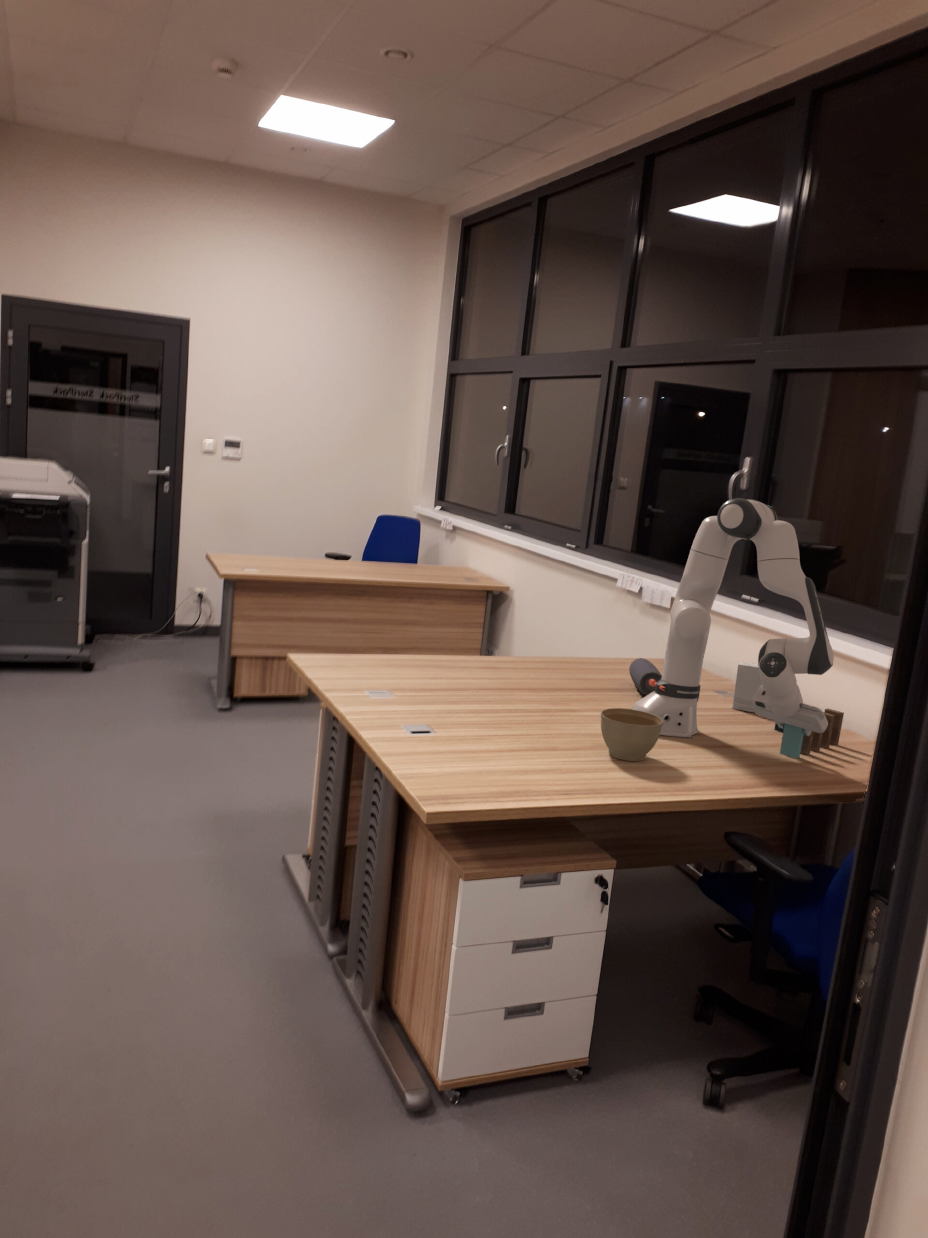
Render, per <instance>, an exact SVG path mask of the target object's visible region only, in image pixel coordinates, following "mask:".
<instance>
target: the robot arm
mask: <svg viewBox="0 0 928 1238" xmlns="http://www.w3.org/2000/svg"><path fill="white" fill-rule="evenodd" d="M796 533H797V532H796V529H795V527H794V525H792V523H790V522H788V521H784V520H779V518H778V515H777V513H776V511H775V509H773V508H772V507H771V506H770V505H768V504H767V503H765V502H764V503H763V502H761V501H758V500H756V499H747V498H746V499H745V498H741V497H738V498H737V497H736V498H732V499H729V500H727V501H725V502H723V504H722V505H721V506H720V508H719V510H718V512H717V515H711V516H708V517H706V518H704V519H703V520H702V521H701V524H700V525H699V528H698V530H697V532H696V533H695V537H694V539H693V542H692V545H691V548H690V550H689V554H688V558H687V561H686V564H685V567H684V569H683V574H682V577H681V579H680V581H679V585H678V588H677V591H676V594H675V597H674V600H673V603H672V606H671V609H670V612H669V613H670V614H669V616H670V617H669V618H670V625H669V632H668V637H667V643H666V649H665V653H664V654H665V655H664V659H663V660H664V661H663V667H662V673H661V675H662V678H661V679H660V680H659V681H658V682H657V681H655V680H654V679H650V682H649V685H651V686H652V687H655V689H654V690H655V691H653V692H652V693H650V694H649V695H644V696H643V697H642V698H640V699H638V701H636V702H634V704H633V706H632V708H631V709H633V710H639V711H644V712H647V713H651V714H654V715H656V716H658V717H660V718H661V719H662V720H663V725H662V727H661V732H660V735H659V736H668V737H669V736H670V737H680V738H692V737H693V735H695V734H697V733H698V732H699V731H698V722H697V718H698V717H697V714H698V713H697V710H698V709H697V708H698V701H699V699H700V692H701V684H700V682H701V677H702V676H701V675H702V669H703V663H704V658H705V653H706V649H707V645H708V639H709V636H710V631H711V630H710V629H711V624H712V623H711V622H712V619H711V618H712V617H711V611H712V607H713V605H714V602H715V600H716V597H717V594H718V592H719V590H720V587H721V585H722V581H723V578H724V576H725V572H726V568H727V565H728V562H729V559H730V556H731V552H732V550H733V547H734V544H736V543H737V542H738V541H743V542H748V541H750V542H751V541H752V542H753V543H754V545H755V547H756V556H757V559H756V561H757V574H758V578H759V581H760V583H761V585H762V586H763V587H764V588H766V589H767V591H768V590H769V591H771V592H772V593H775V594H777V595H780V596H784V597H788V598H791V599H793V600H795V601H797V602H799V603H800V605H801V606H802V609H803V610H804V614H805V619H806V623H807V628H808V631H809V632H808V633H809V636H807V637H798V638H797V637H793V638H789V637H788V638H786V637H785V638H784V637H783V638H770V639H769V640H767V641H766V642H764V643H763V645H762V646H761V647H760V649H759V652H758V659H757V664H758V666H759V673H760V679H761V683H762V684H761V685H760V687H759V688H758V690H757V691H756V693H755V694H754V696H753V699H752V703H753V709H754V711H755V714H756V715H757V716H759V717H762V718H766V719H769V720H772V721H773V722H774V723H776V724H778V726H779V728H783V729H784V726H785V723H786V724H789V725H793V726H796V727H800V728H803V729H804V730H803V733H804V735H806V736H809V735H810V734H811V731H814V732H817V733H823V732H824V731H825V730H826V728H827V726H828V721H827V719H826V716H825V715H824V713H823V712H824V711H823V710H822V709H821V708H819V707H817V706H814V705H810V704H807V703H804V700H803V696H802V693H801V690H800V686H799V685H798V684H797V683H798V682H797V677H796V675H797V674H798V675H799V674H802V675H805V674H808V675H815V676H817V675H818V676H819V675H820V676H822V675H824V674H825V673H826V672H828V671H829V670H830V669H831V668H832V667H833V666H834V661H835V660H834V659H835V658H834V657H835V655H834V651H833V650H834V649H833V648H832V645H831V642H830V639H829V636H828V632H827V628H826V623H825V618H824V616H823V610H822V606H821V603H820V598H819V595H818V591H817V589H816V585H815V583H814V581H813V580H812V579H811V578H810V577H809V576H808V577H807V576H806V575H805V573H804V571H803V569H802V566H801V561H800V548H799V543H798V537H797V534H796Z"/></svg>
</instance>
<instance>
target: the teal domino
mask: <svg viewBox="0 0 928 1238" xmlns="http://www.w3.org/2000/svg"><path fill="white" fill-rule="evenodd" d="M803 730H804V729H803V728H800V727H796V726H793V725H789V724H786V723H785V726H784V731H783V733H782V737H781V744H780V750H779V754H780V755H783V756H786V757H789V758H794V759H795V760H797V759H799V758H800V757H801V753H800V752H801V747H802V741H803V735H804V733H803Z"/></svg>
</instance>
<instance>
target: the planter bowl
mask: <svg viewBox="0 0 928 1238" xmlns="http://www.w3.org/2000/svg"><path fill="white" fill-rule="evenodd" d="M600 718H601V719H600V728H601V729H600V730H601V735H602V739H603V741H604V743H605V745H606V747H607V748H608V754H609V755H610V756H611V757H612V758H615V759H618V760H622V761H626V762H627V761H628V762H640V761H643V760H645V759H646V757H647V755H648V753H650V751H651V750H652V749H653V748H654V747H655V745H656V744H657V742H658V741H659V740H658V739H659V738H660V736H661V735H660V732H661V727H662V725H663V720H662V719H661V718H660V717H658V716H656V715H654V714H651V713H647V712H644V711H639V710H633V709H632V708H624V707H623V708H621V707H617V708H616V707H614V708H612V707H611V708H606V709H602V710H601V712H600Z"/></svg>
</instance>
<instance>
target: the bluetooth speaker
mask: <svg viewBox="0 0 928 1238" xmlns="http://www.w3.org/2000/svg"><path fill="white" fill-rule="evenodd" d="M628 669H629V670H628V671H629V677H630V678H631V680H632V683H633V684H634V685H635V687H636V688H637V690H638V691H639V693H640V694H641V695H644V696H647V695H649V694H650V693H652V692H653V691H655V690H654V689H655V687H652V686H651V685H649V682H650V679H654V680H655V681H657V682H658V681H659V680H660V679H661V678H662V673H661V672H660V671H659V669H658V668H657V667H656V666H655V665H654V663H652V662H651V661H650V660H648V659H646V658H642V657H641V658H635V660H633V661H632V662H631V663H630V666H629V668H628Z"/></svg>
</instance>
